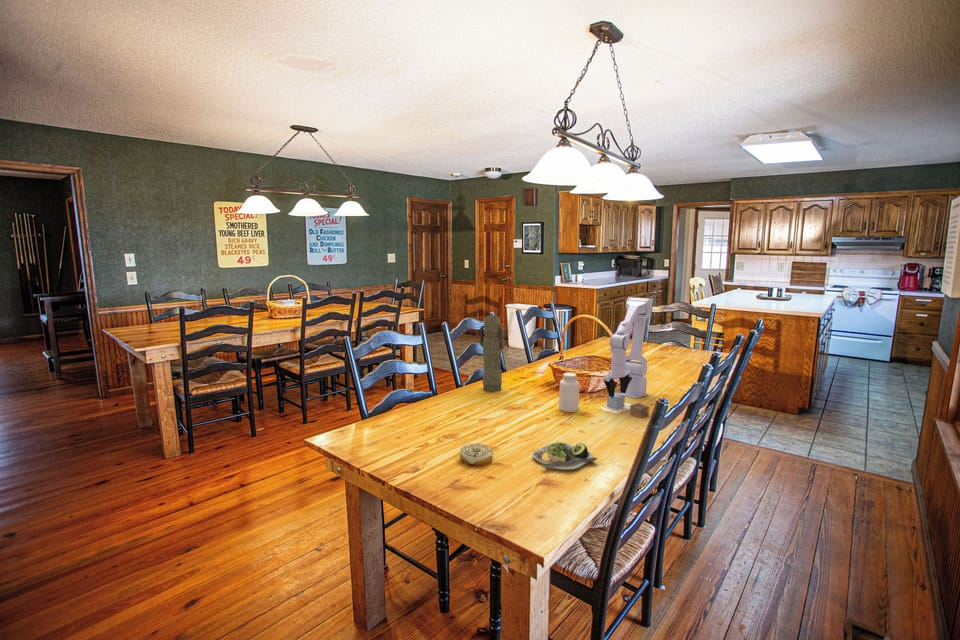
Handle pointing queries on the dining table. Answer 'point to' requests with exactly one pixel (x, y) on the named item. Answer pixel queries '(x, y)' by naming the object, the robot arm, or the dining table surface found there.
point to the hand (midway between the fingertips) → (617, 394)
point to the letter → (626, 407)
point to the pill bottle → (569, 393)
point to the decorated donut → (476, 454)
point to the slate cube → (616, 401)
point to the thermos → (492, 352)
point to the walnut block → (639, 410)
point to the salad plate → (564, 456)
